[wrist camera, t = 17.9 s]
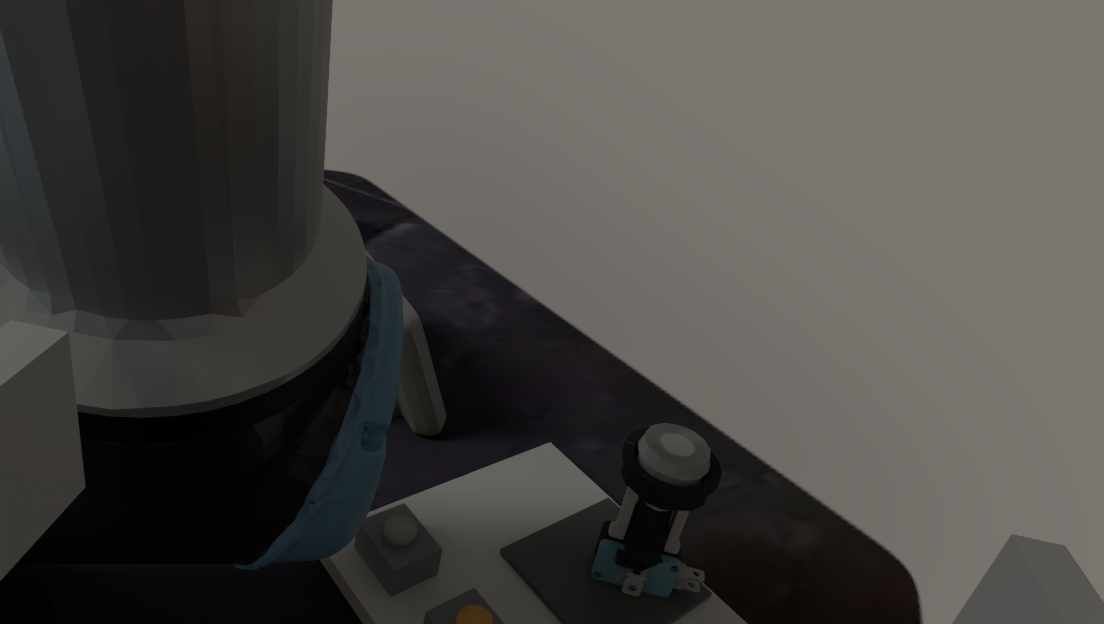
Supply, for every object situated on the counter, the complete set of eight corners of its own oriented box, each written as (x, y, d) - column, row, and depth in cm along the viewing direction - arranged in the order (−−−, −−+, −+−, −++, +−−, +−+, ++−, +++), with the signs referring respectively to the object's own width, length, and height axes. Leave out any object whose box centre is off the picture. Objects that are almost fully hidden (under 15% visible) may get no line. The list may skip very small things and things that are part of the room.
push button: (696, 561, 48) (748, 434, 43) (696, 632, 43) (755, 497, 38) (591, 533, 48) (631, 403, 43) (580, 599, 44) (624, 462, 39)
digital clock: (449, 447, 55) (472, 319, 50) (317, 459, 51) (327, 321, 46) (402, 326, 68) (417, 213, 63) (293, 328, 64) (299, 209, 59)
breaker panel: (312, 548, 45) (315, 499, 43) (547, 455, 56) (557, 413, 55) (556, 910, 32) (577, 861, 30) (798, 691, 43) (823, 646, 41)
